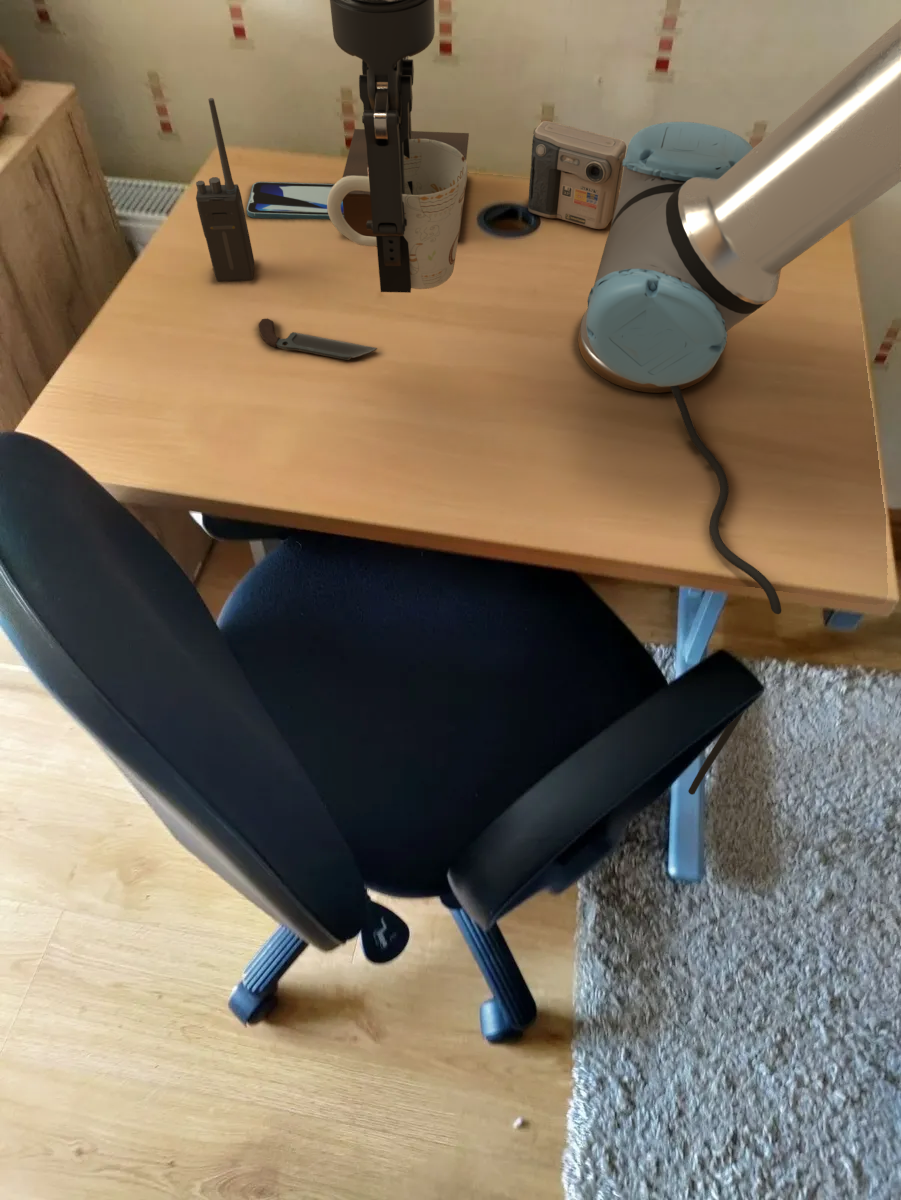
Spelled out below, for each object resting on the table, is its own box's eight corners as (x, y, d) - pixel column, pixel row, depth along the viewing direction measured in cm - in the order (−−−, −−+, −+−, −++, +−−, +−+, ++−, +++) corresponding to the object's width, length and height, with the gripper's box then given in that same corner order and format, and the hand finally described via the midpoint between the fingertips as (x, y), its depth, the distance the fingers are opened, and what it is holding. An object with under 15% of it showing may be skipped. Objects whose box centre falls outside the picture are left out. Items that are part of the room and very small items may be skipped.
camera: (520, 212, 112) (525, 133, 104) (539, 190, 115) (546, 111, 107) (603, 238, 109) (615, 159, 101) (621, 214, 112) (634, 135, 104)
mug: (458, 302, 79) (459, 200, 71) (322, 288, 80) (306, 185, 72) (472, 245, 84) (474, 142, 75) (342, 233, 85) (330, 130, 76)
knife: (249, 343, 98) (248, 338, 97) (263, 321, 100) (262, 316, 99) (369, 367, 95) (368, 362, 95) (381, 343, 98) (380, 338, 97)
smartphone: (364, 217, 111) (245, 213, 111) (365, 224, 112) (246, 220, 112) (368, 184, 115) (253, 180, 115) (368, 191, 116) (254, 188, 116)
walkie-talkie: (256, 262, 106) (221, 89, 90) (254, 280, 104) (218, 105, 88) (216, 264, 106) (173, 90, 90) (214, 281, 104) (169, 107, 88)
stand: (461, 243, 108) (461, 197, 103) (343, 238, 109) (338, 192, 104) (468, 178, 117) (468, 132, 112) (358, 174, 117) (354, 128, 112)
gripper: (342, -73, 68) (367, 207, 87) (311, 41, 57) (347, 333, 76) (439, -72, 68) (443, 208, 87) (426, 43, 57) (434, 334, 76)
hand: (398, 266), depth 82 cm, fingers closed on mug, 6 cm apart
